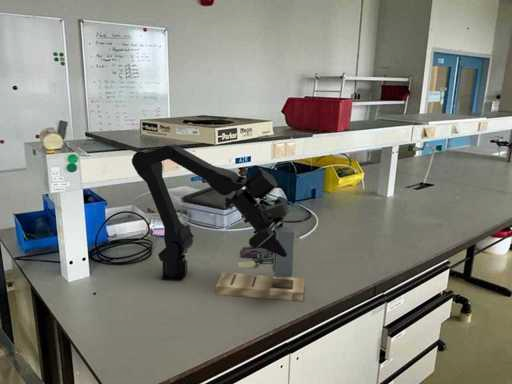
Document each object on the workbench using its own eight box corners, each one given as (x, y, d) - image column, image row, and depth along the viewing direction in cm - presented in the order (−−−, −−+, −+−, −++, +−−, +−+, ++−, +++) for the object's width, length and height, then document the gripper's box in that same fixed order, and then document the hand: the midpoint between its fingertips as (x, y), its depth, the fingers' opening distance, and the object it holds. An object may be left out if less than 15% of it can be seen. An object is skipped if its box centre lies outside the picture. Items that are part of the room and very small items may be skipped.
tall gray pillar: (276, 277, 117) (277, 232, 113) (273, 270, 121) (275, 227, 118) (291, 276, 117) (294, 232, 114) (288, 270, 121) (290, 226, 118)
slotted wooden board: (216, 294, 118) (216, 285, 118) (222, 280, 127) (222, 271, 126) (303, 301, 115) (303, 292, 115) (303, 286, 124) (304, 277, 123)
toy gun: (292, 273, 134) (292, 250, 148) (291, 258, 132) (291, 237, 146) (237, 276, 136) (242, 254, 150) (234, 262, 135) (240, 240, 149)
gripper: (262, 199, 106) (303, 247, 105) (279, 184, 123) (315, 224, 123) (231, 226, 110) (271, 271, 109) (252, 207, 127) (287, 246, 127)
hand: (288, 252), depth 117 cm, fingers closed on tall gray pillar, 6 cm apart
